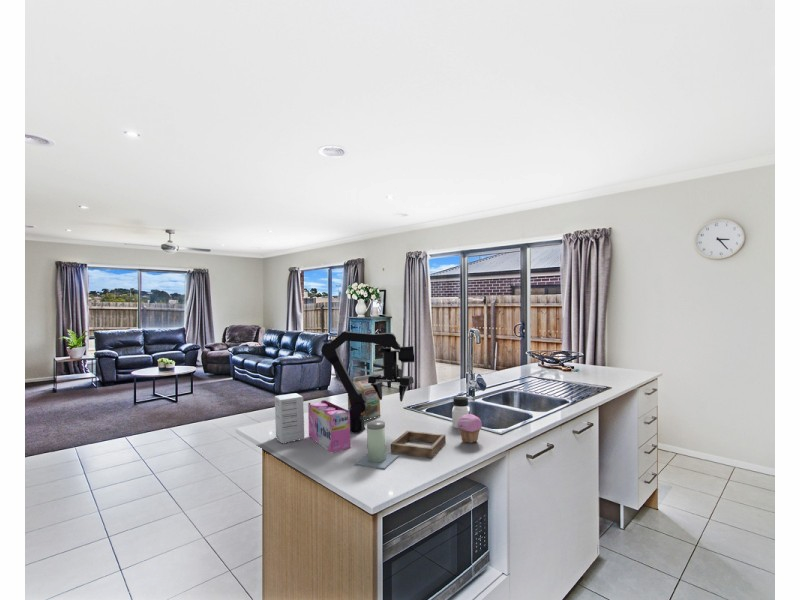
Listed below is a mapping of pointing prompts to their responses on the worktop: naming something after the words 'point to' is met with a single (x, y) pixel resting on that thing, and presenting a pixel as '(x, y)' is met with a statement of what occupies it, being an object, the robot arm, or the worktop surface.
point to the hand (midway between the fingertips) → (391, 400)
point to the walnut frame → (402, 448)
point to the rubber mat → (381, 465)
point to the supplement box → (289, 417)
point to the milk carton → (370, 394)
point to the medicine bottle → (459, 409)
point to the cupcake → (469, 427)
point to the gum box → (329, 425)
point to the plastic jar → (376, 441)
